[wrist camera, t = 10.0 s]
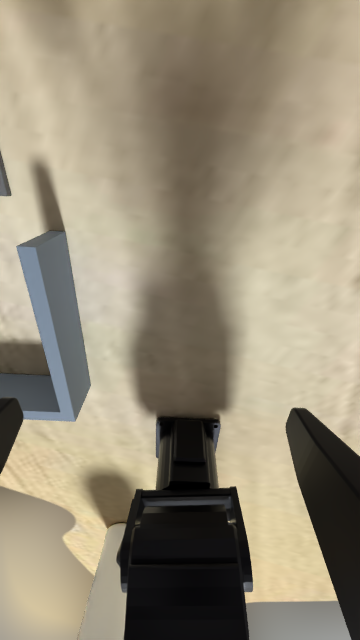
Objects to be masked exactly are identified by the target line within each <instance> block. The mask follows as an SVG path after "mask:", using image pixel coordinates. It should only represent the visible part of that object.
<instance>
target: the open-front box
mask: <svg viewBox="0 0 360 640" xmlns="http://www.w3.org/2000/svg"><path fill="white" fill-rule="evenodd" d="M16 247H17V251H18V254H19V258H20V262H21V266H22V269H23V273H24V277H25V281H26V284H27V288H28V292H29V296H30V299H31V303H32V307H33V311H34V314H35V318H36V322H37V326H38V329H39V333H40V337H41V341H42V344H43V348H44V352H45V356H46V359H47V363H48V367H49V371H50V374H51V376H45V375H24V374H3V373H0V398H2V397H15V398H17V399H18V401H19V404H20V406H21V409H22V411H23V415H24V418H23V419H29V420H52V421H74V422H75V421H76V419H77V417H78V414H79V412H80V410H81V407H82V405H83V403H84V400H85V398H86V396H87V393H88V391H89V389H90V386H91V384H90V378H89V372H88V366H87V360H86V354H85V348H84V342H83V336H82V330H81V324H80V318H79V312H78V306H77V300H76V294H75V288H74V282H73V276H72V270H71V264H70V258H69V252H68V246H67V240H66V234H65V232H64V231H48V232H46V233H44V234H42V235H40V236H37V237H35V238H33V239H31V240H29V241H27V242H25V243H22V244H20V245H18V246H16Z"/></svg>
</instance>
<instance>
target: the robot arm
mask: <svg viewBox="0 0 360 640" xmlns="http://www.w3.org/2000/svg"><path fill="white" fill-rule="evenodd" d="M23 418H24V415H23V411H22V409H21V406H20V404H19V401H18V399H17V398H15V397H2V398H0V474H1V472H2V470H3V468H4V466H5V463H6V461H7V459H8V456H9V454H10V451H11V449H12V447H13V444H14V442H15V439H16V437H17V434H18V432H19V430H20V427H21V425H22V422H23ZM220 427H221V426H220V421H218V420H209V419H187V418H165V417H160V418H158V419H157V422H156V457H157V458H158V469H157V481H156V490H143V489H136V493H135V497H134V499H133V500H132V504H131V508H130V512H129V516H128V520H127V524H126V528H125V532H124V536H123V539H122V542H121V544H120V547H119V549H118V552H117V557H116V562H117V564H118V565H119V567H120V582H121V590H122V592H123V593H127V596H126V614H125V630H124V640H249V630H248V622H247V612H246V603H245V594H244V592H252V591H253V578H252V567H251V559H250V552H249V546H248V540H247V535H246V530H245V526H244V521H243V517H242V512H241V507H240V503H239V498H238V493H237V489H236V486H234V487H230V488H219V485H218V476H217V467H216V458H215V451H216V447H217V442H218V437H219V432H220ZM286 434H287V438H288V442H289V447H290V451H291V455H292V459H293V464H294V468H295V472H296V476H297V480H298V483H299V486H300V489H301V492H302V495H303V498H304V501H305V504H306V507H307V510H308V513H309V516H310V519H311V522H312V525H313V528H314V531H315V534H316V536H317V539H318V542H319V545H320V548H321V551H322V554H323V557H324V560H325V563H326V566H327V569H328V572H329V575H330V578H331V581H332V584H333V587H334V590H335V592H336V595H337V598H338V601H339V604H340V607H341V610H342V613H343V616H344V619H345V622H346V625H347V628H348V630H349V633H350V637H351V639H352V640H360V456H359V455H357V454H356V453H355V452H354V451H353V450H352V449H351V448H350V447H349V446H347V445H346V444H345V443H344V442H343V441H342V440H341V439H340V438H338V437H337V436H336V435H335V434H334V433H333V432H332V431H331V430H330V429H328V428H327V427H326V426H325V425H324V424H323V423H322V422H321V421H319V420H318V419H317V418H316V417H315V416H314V415H313V414H312V413H310V412H309V411H308V410H307V409H305V408H292V409H291V411H290V414H289V417H288V420H287V422H286ZM228 521H230V523H228Z"/></svg>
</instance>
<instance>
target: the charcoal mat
mask: <svg viewBox="0 0 360 640" xmlns="http://www.w3.org/2000/svg"><path fill="white" fill-rule="evenodd" d="M0 196H11V193H10V189H9V185H8V181H7V177H6V173H5V169H4V165H3V161H2V157H1V153H0Z"/></svg>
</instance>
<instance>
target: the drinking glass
mask: <svg viewBox="0 0 360 640" xmlns="http://www.w3.org/2000/svg"><path fill="white" fill-rule="evenodd" d="M126 524H127V523H118V524H114V525H112V526H110V527H109V528H108V529H107V531H106V535H105V539H104V544H103V548H102V552H101V555H100V559H99V563H98V566H97V570H96V573H95V577H94V581H93V584H92V588H91V591H90V595H89V598H88V602H87V606H86V609H85V613H84V616H83V619H82V623H81V627H80V631H79V634H78V638H77V640H124V630H125V614H126V596H127V593H123V592H122V590H121V582H120V567H119V565H118V564H117V562H116V557H117V552H118V549H119V547H120V544H121V542H122V539H123V536H124V532H125V528H126Z"/></svg>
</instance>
